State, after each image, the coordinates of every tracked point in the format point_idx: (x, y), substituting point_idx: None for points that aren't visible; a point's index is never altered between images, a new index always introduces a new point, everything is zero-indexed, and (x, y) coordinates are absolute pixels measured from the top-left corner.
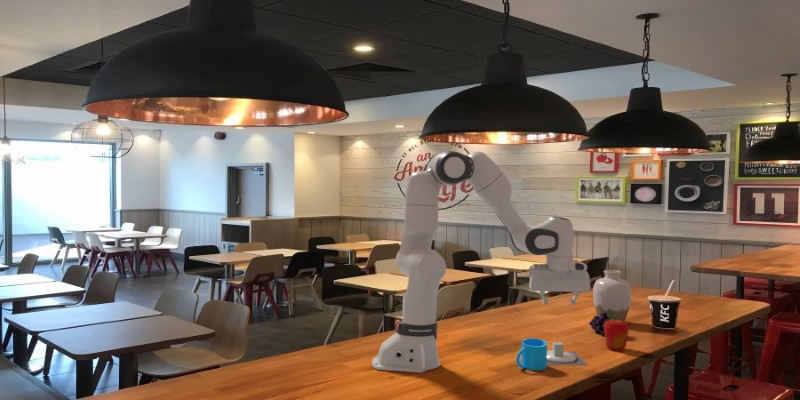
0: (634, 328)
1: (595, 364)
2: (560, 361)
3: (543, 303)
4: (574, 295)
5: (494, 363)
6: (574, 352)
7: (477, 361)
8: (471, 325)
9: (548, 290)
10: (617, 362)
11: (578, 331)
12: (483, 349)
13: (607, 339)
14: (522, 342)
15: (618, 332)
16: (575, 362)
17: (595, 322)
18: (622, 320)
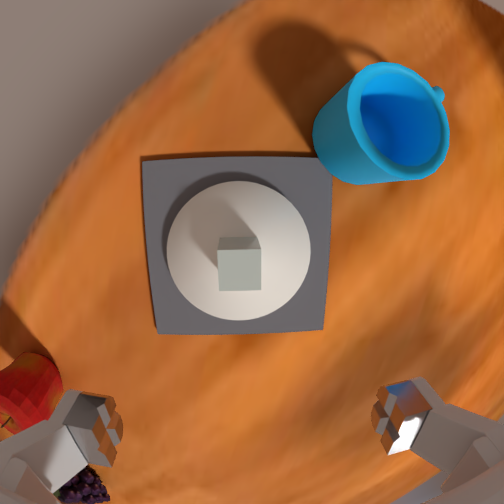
0: None
1: (110, 200)
2: (245, 181)
3: (421, 384)
4: (57, 482)
5: (452, 196)
6: (159, 327)
7: (481, 217)
8: (370, 492)
9: (482, 483)
10: (43, 234)
11: (136, 488)
12: (437, 339)
13: (49, 383)
14: (447, 128)
15: (8, 375)
16: (181, 194)
17: (92, 491)
18: (57, 497)
